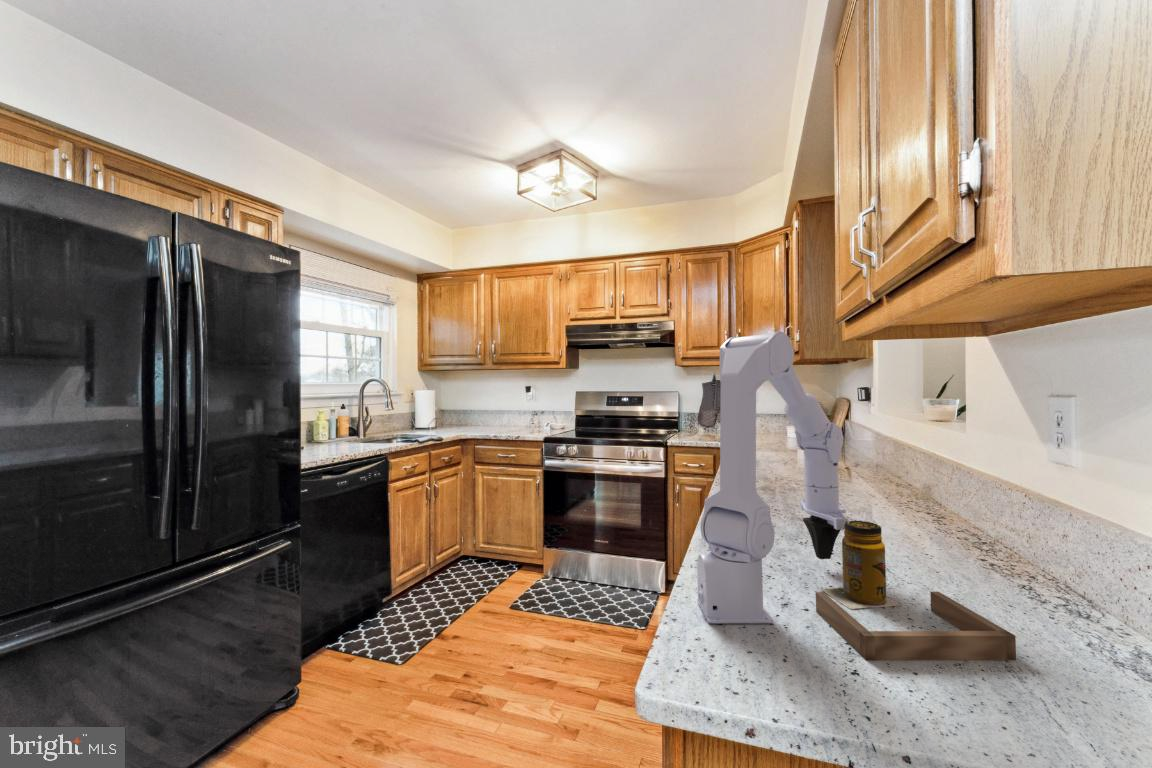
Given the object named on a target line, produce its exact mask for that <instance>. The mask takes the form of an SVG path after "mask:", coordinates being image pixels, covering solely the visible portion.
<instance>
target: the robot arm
mask: <svg viewBox="0 0 1152 768" xmlns="http://www.w3.org/2000/svg"><path fill="white" fill-rule="evenodd" d="M794 357H795V351H794V346H793V343H792V341H791V339H790V337H789V335H787V333H785V332H783V331H781V330H780V331H779V330H778V331H774V332H770V333H762V334H754V335H745V336H731V337H729V338H728V339H726V340H725V342H724V343H722V344H721V346H720V347H719V381H720V413H719V414H720V424H719V425H720V429H719V431H720V432H719V433H720V434H719V435H720V437H719V438H720V439H719V440H720V442H719V443H720V447H719V451H720V452H719V458H720V459H719V489H717V490H716V491H715V492H713V493H712V494H711V495H709V496H708V497H707V498H705V500H704V508H703V512H702V513H703V514H702V517H701V519H700V526H699V527H700V528H699V529H700V534H701V537H702V539H703V541H704V542H705V543H706V544H708V547H707V548H708V551H710V552H706V553H701V554H699V555H698V556H697V565H696V568H697V599H696V601H697V603H698V605H699V606H700V607H699V608H700V609H701V611H702V613H703V615H704V617H705V619H706V621H707V623H709V624H773V623H774V618H773V617H772V616H771V615H770V614H769V612H768V611H767V610H766V608H764V591H763V590H764V588H763V586H764V585H763V559H764V558H767V556H768V555H769V554H770V552H771V551H772V549H773V546H774V543H775V537H776V535H775V529H774V525H773V522H772V516H771V506H770V505H769V504H768V502H766V500H764V498H763V497H762V496H761V495H760V494H759V493H758V492H757V391H758V390H759V388H760V387H762V385H763V384H764V383H765V382H767V381H768V382H769V383H770V384H771V386H772V387H773V388H774V389H775V390H776V391H777V393H778V394H779V396H781V398H782V400H783V401H784V402H785V404H784V413H785V415H786V416H787V418H788V419H789V421H790V422H791V424H792V425H793V427H794V434H795V436H796V439H795V440H796V444H797V446H798V448H799V449H800V450H802V451H803V473H804V474H803V476H804V477H803V478H804V479H803V480H804V482H803V483H804V499H800V500H799V507H800V508H799V510H800V511H802V512H804V513H806V514H807V515H810V517H803V518H802V522H803V523H804V525H805V527H806V528H807V531H808V534H809V537H810V539H811V543H812V546H813V549H814V552H815V553H814V554H815V556H816V558H818V559H819V560H831V557H832V554H833V550H834V548H835V543H836V540H837V537H838V535H839V534H840V532H841V531H843V530H845V528H844V525H845V523H846V522H847V521H849V520H848V518H847V517H846V516H844V514H845V513H846V509H845V508H843V507H840V492H839V491H840V490H839V487H840V486H839V462H840V461H841V459H842V448H843V445H844V434H843V430H842V428H841V426H840V425H838V424H836V423H835V422H831V421H830V420H829V418H828V416H827V414H826V412H824V410H823V408H822V406H821V404H820V403H819V401H818V399H817V398H816V397H815V395H813V394H811V393H807V392H805V389H804V387H803V386H802V383H801V381H800V378H799V377H798V375H797V373H796V370H795V368H794V366H793V365H794Z"/></svg>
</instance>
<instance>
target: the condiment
mask: <svg viewBox="0 0 1152 768" xmlns="http://www.w3.org/2000/svg"><path fill="white" fill-rule="evenodd" d="M844 528H845V530H844V532H843V534H844V536H843V538H842V540H841V551H842V553H841V554H842V559H841V560H842V586H843V587H833V588H821V591H822V592H824V593H825V594H826V595H827V596H829V597H830V598H831V599H832V598H833V600H836V601H837V602H838V603H841V604H842V605H843V606H845V607H847V608H849V609H850V610H855V609H863V608H864V609H866V608H867V609H868V608H885V607H895V606H896V607H897V606H900V605H901V604H900V603H898V602H896V601H895V600H892V599H890V598H888V597H887V582H886V581H887V576H886V546H885V543H884V542H883V536H882V527H881V526H880V525H879V524H877V523H874V522H869V521H866V520H848V521H847V522H846V523H845V525H844Z"/></svg>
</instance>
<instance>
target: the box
mask: <svg viewBox="0 0 1152 768" xmlns="http://www.w3.org/2000/svg"><path fill="white" fill-rule="evenodd" d="M929 592H930V593H929V594H930V611H931V612H930V613H933V614H934V615H936V616H938V617H939V618H940V619H941V620H944V621H945V622H947V623H949V624H950V625H951V626H953V627H954V628H956V629H958V630H868V629H867V628H866V627H865V626H864V625H863V624H861V623H860V622H859V621H857V620H856V619H855V618H854V617H853V616H852V615H850V613H849V612H847V611H846V610H845V609H844V608H842V607H841V606H840V605H839V604H838V603H837V602H835V600H834V599H832V597H831V596H830V595H828V594H827V593H825V592H824V591H816V592H815V613H816V614H817V615H819V616H820V617H821V618H822V619H823V620H824V621H825V622H826V623H827V624H828V625H829V626H830V627H831V628H832V629H833V630H834V631H835V632H836V633H837V634H838V635H839V636H840V637H841V638H842V639H844V641H845V642H846V643H847V644H848V645H849V646H850V647H852V649H854V651H856V653H857V654H858V655H860V656H861V657H862V659H863V660H865V661H1017V643H1016V640H1017V639H1016V635H1015V634H1013V633H1012V632H1010V631H1008V630H1006V629H1005V628H1003V627H1001V626H999V625H998V624H996V623H994V622H992V621H991V620H988V618H986V617H984V616H982V615H980V614H978V613H977V612H975V611H974V610H971V609H969V608H968V607H967V606H965V605H963V604H961V603H959V602H958V601H956V600H954V599H952V598H950V597H949V596H947V595H945V594H943V593H942V592H941V591H939V590H938V591H937V590H936V591H929Z"/></svg>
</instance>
